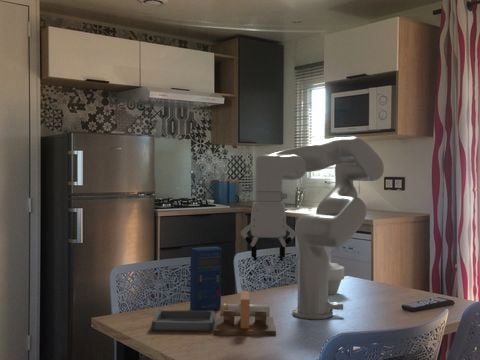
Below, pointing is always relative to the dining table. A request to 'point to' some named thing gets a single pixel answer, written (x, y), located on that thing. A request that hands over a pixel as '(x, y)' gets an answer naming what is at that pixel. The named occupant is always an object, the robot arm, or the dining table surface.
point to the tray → (183, 321)
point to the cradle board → (233, 327)
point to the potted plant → (333, 273)
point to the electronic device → (205, 278)
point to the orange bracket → (245, 309)
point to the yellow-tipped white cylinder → (238, 309)
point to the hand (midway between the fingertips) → (268, 259)
